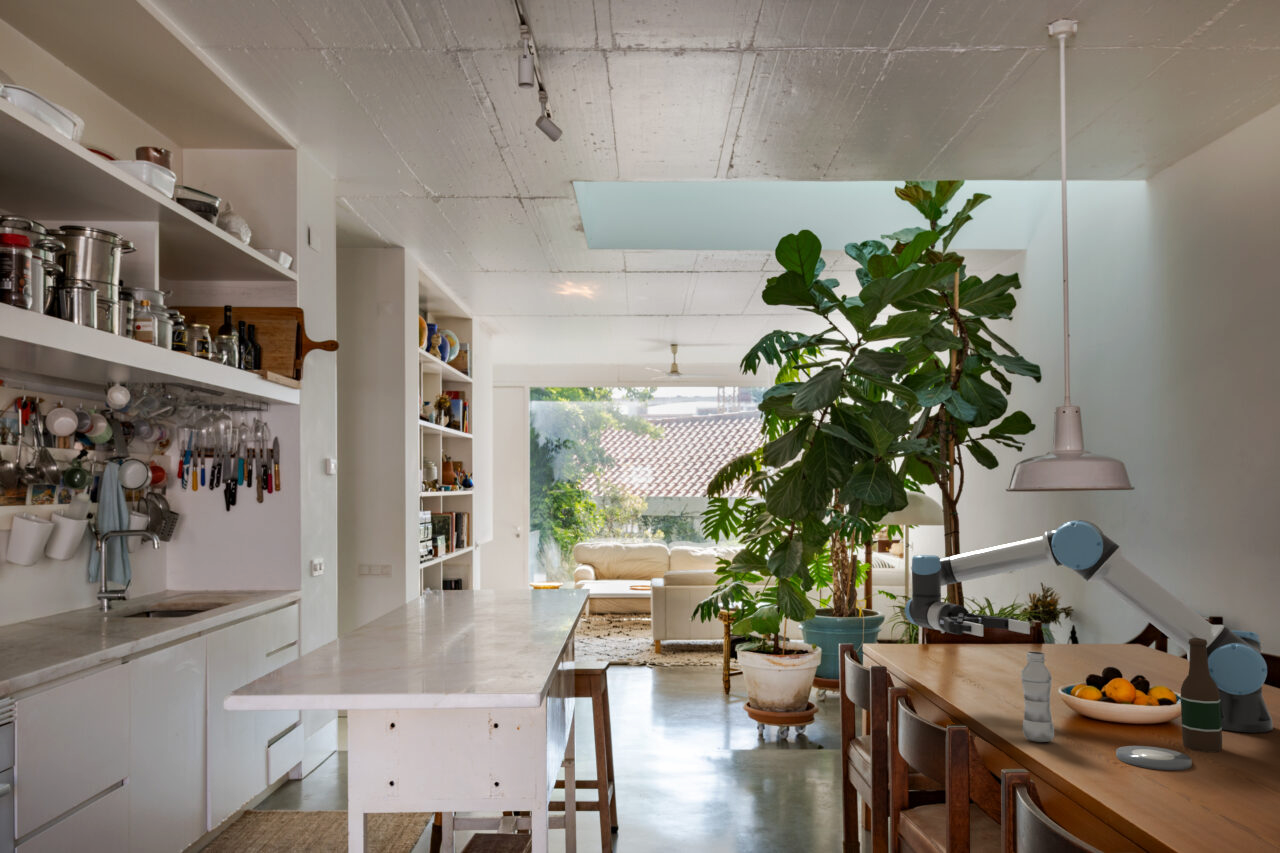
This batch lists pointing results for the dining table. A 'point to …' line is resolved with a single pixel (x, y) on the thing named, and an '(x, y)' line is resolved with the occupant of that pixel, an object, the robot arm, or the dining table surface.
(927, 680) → the dining table surface
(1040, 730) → the plastic bottle
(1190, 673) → the beer bottle
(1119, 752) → the coaster
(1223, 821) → the dining table surface
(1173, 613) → the robot arm
